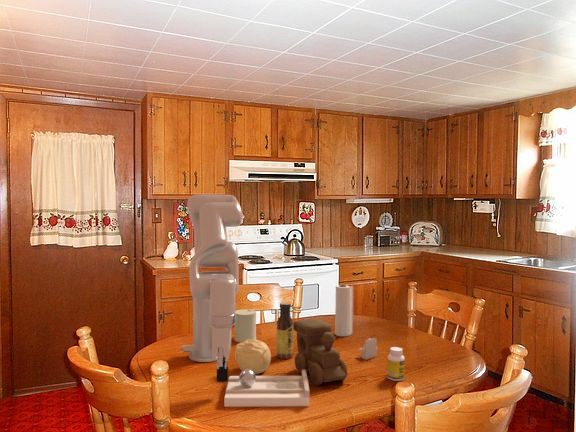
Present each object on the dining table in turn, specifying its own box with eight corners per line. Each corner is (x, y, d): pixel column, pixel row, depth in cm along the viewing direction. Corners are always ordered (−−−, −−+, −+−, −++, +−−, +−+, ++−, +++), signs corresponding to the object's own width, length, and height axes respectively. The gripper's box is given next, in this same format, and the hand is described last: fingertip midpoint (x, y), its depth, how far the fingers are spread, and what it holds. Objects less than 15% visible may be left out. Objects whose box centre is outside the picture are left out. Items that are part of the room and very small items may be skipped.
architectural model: (358, 358, 171) (359, 338, 171) (372, 354, 175) (372, 335, 175) (365, 360, 168) (365, 340, 168) (378, 357, 172) (379, 337, 172)
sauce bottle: (291, 360, 167) (291, 306, 166) (274, 358, 168) (274, 305, 168) (294, 354, 174) (295, 302, 173) (278, 353, 175) (278, 301, 174)
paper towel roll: (333, 336, 197) (334, 286, 196) (336, 332, 203) (337, 284, 202) (350, 337, 195) (351, 287, 194) (352, 333, 201) (353, 285, 200)
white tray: (224, 406, 129) (224, 390, 129) (229, 383, 145) (229, 369, 145) (309, 406, 130) (309, 390, 130) (305, 383, 146) (305, 369, 146)
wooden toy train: (290, 368, 159) (290, 321, 158) (318, 363, 164) (319, 317, 163) (319, 390, 141) (320, 337, 140) (350, 384, 146) (351, 332, 145)
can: (260, 338, 193) (260, 310, 192) (247, 344, 185) (247, 314, 185) (243, 334, 198) (243, 307, 197) (229, 340, 190) (229, 311, 190)
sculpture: (230, 374, 153) (230, 342, 153) (246, 362, 164) (246, 332, 164) (261, 379, 149) (261, 346, 149) (275, 367, 160) (276, 336, 160)
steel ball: (238, 389, 135) (238, 372, 135) (239, 382, 140) (239, 366, 140) (255, 389, 135) (255, 372, 135) (256, 382, 140) (256, 366, 140)
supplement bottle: (401, 382, 147) (401, 352, 147) (384, 379, 150) (385, 349, 150) (406, 377, 152) (406, 348, 152) (390, 373, 155) (391, 345, 154)
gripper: (213, 313, 144) (213, 372, 144) (206, 326, 129) (206, 391, 129) (237, 313, 144) (237, 371, 144) (232, 326, 129) (232, 391, 130)
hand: (222, 380), depth 137 cm, fingers closed
